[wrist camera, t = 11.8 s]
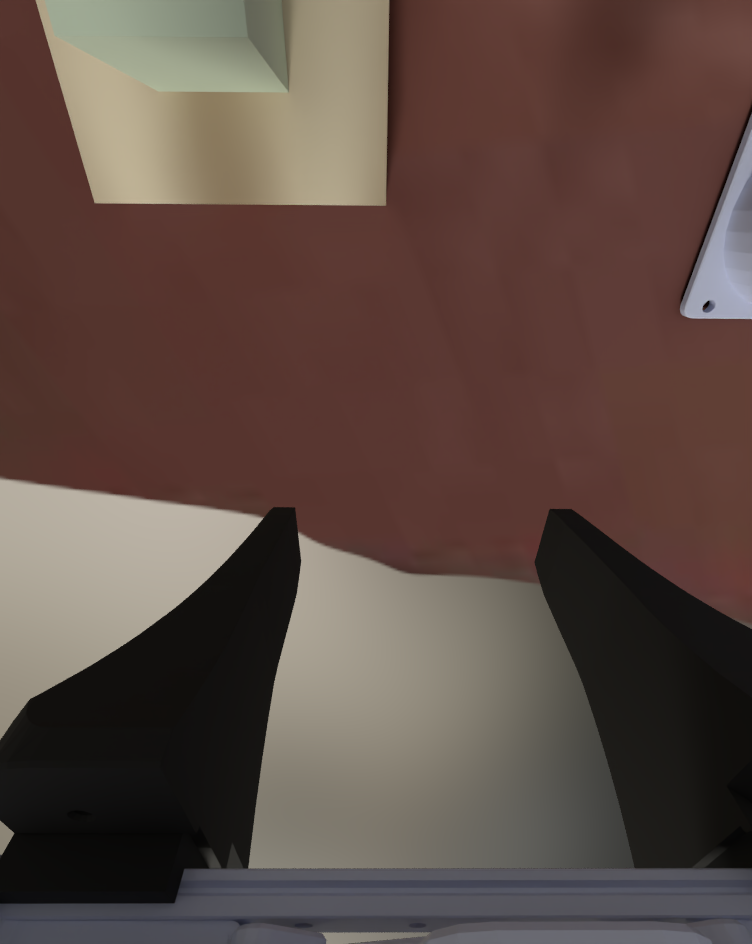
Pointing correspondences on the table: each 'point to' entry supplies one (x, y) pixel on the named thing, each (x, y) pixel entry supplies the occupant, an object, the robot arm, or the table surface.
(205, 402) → the table surface
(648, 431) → the table surface
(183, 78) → the sage block
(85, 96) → the birch block
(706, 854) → the robot arm
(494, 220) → the table surface
